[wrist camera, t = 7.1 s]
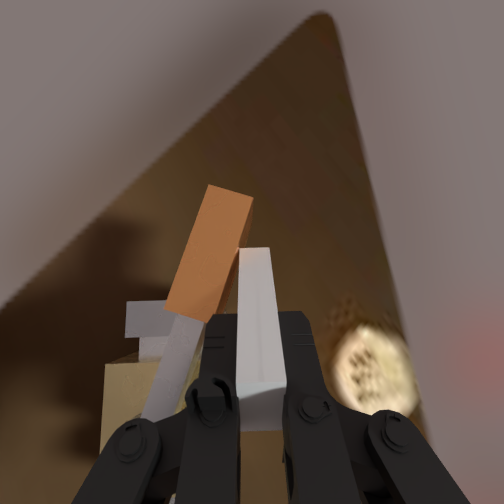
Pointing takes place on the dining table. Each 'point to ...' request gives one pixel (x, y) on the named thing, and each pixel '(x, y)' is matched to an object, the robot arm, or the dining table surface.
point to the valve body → (137, 366)
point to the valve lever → (199, 294)
